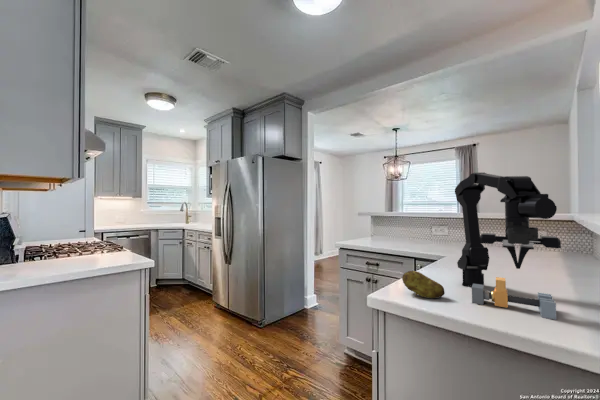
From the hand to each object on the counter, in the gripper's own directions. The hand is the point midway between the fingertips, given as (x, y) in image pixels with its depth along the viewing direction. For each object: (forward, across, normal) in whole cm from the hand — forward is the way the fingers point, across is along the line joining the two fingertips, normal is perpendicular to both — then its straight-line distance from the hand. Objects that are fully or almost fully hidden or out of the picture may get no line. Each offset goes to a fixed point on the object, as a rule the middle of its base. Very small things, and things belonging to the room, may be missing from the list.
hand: (518, 268), depth 83 cm
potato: (+12, -26, -5) cm, 29 cm away
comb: (+12, +6, -1) cm, 13 cm away
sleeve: (+12, -4, -1) cm, 13 cm away
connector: (+12, -10, -1) cm, 16 cm away
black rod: (+10, -2, -1) cm, 11 cm away
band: (+12, -6, -1) cm, 13 cm away
